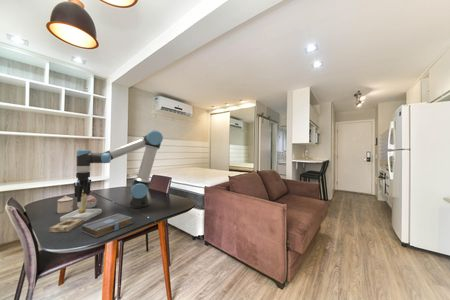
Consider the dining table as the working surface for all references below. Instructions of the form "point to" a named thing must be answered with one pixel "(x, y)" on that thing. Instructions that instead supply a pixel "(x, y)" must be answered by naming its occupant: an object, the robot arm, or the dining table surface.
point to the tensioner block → (66, 225)
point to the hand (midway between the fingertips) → (82, 205)
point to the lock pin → (83, 205)
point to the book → (106, 225)
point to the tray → (82, 215)
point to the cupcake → (91, 202)
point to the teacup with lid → (65, 205)
